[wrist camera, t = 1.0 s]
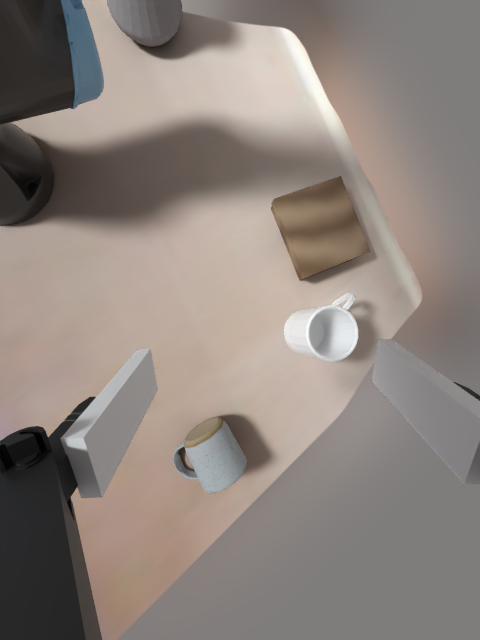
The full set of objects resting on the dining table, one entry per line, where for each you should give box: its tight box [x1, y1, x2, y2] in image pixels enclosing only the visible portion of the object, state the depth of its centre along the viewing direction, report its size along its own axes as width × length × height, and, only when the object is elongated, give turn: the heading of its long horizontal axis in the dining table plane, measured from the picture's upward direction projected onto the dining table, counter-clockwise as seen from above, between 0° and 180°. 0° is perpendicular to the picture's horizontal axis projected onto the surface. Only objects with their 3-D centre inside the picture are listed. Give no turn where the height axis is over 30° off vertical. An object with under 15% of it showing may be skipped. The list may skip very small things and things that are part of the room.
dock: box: [271, 176, 370, 280], centre depth 44 cm, size 14×13×4 cm
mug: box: [284, 292, 359, 362], centre depth 41 cm, size 8×12×10 cm
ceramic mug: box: [173, 417, 247, 493], centre depth 38 cm, size 11×8×8 cm
